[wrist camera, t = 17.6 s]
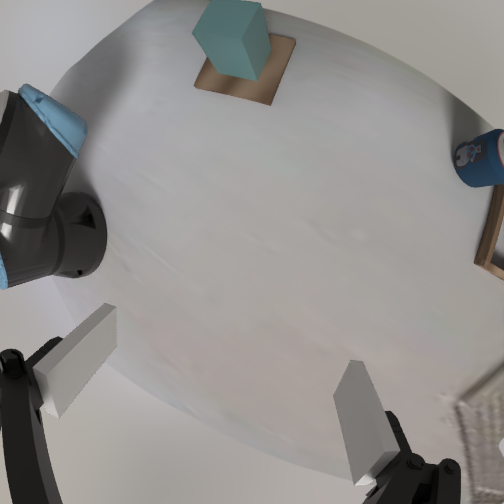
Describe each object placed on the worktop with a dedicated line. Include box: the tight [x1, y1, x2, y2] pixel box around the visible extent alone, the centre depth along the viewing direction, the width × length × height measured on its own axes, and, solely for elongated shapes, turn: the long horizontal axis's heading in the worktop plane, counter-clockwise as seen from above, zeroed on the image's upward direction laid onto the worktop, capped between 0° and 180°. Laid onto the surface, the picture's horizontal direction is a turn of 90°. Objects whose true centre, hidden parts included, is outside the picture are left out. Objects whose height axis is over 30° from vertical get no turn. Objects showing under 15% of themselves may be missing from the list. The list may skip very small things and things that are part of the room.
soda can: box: [454, 129, 504, 187], centre depth 27 cm, size 7×7×12 cm
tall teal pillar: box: [192, 0, 272, 82], centre depth 30 cm, size 6×6×12 cm
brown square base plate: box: [194, 34, 296, 106], centre depth 32 cm, size 12×12×9 cm
